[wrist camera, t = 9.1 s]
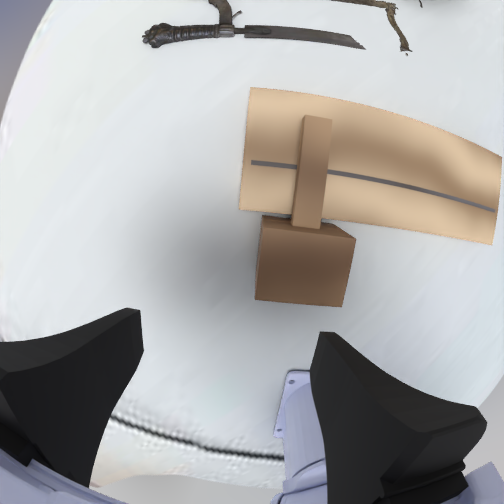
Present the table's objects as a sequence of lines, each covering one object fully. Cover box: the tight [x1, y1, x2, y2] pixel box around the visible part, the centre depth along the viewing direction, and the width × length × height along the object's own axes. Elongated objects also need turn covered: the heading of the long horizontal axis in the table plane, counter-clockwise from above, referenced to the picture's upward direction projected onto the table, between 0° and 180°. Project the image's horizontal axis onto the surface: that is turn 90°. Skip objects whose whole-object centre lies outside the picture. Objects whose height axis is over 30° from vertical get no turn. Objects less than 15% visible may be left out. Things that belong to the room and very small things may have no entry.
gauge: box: [255, 115, 356, 307], centre depth 16 cm, size 10×5×5 cm, turn 174°
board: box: [239, 87, 502, 245], centre depth 17 cm, size 8×22×2 cm, turn 85°
